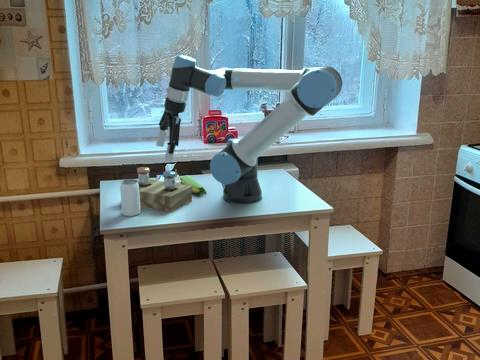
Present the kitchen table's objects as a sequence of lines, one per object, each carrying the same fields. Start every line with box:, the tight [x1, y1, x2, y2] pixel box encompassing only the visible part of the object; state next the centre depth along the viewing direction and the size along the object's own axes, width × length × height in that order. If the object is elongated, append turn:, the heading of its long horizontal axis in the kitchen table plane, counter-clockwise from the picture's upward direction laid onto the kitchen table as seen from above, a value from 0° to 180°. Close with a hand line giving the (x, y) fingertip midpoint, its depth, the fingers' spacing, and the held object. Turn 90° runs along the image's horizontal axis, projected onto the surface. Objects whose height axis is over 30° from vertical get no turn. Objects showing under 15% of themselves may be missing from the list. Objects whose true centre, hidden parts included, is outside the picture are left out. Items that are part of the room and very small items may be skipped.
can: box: [119, 178, 141, 217], centre depth 180 cm, size 6×6×12 cm
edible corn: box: [179, 175, 208, 197], centre depth 206 cm, size 5×20×5 cm
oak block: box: [137, 178, 193, 213], centre depth 192 cm, size 22×14×6 cm, turn 62°
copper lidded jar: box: [136, 166, 151, 188], centre depth 194 cm, size 5×5×8 cm
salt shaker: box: [162, 170, 177, 192], centre depth 188 cm, size 5×5×8 cm
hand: (163, 153), depth 190 cm, fingers open, 13 cm apart
